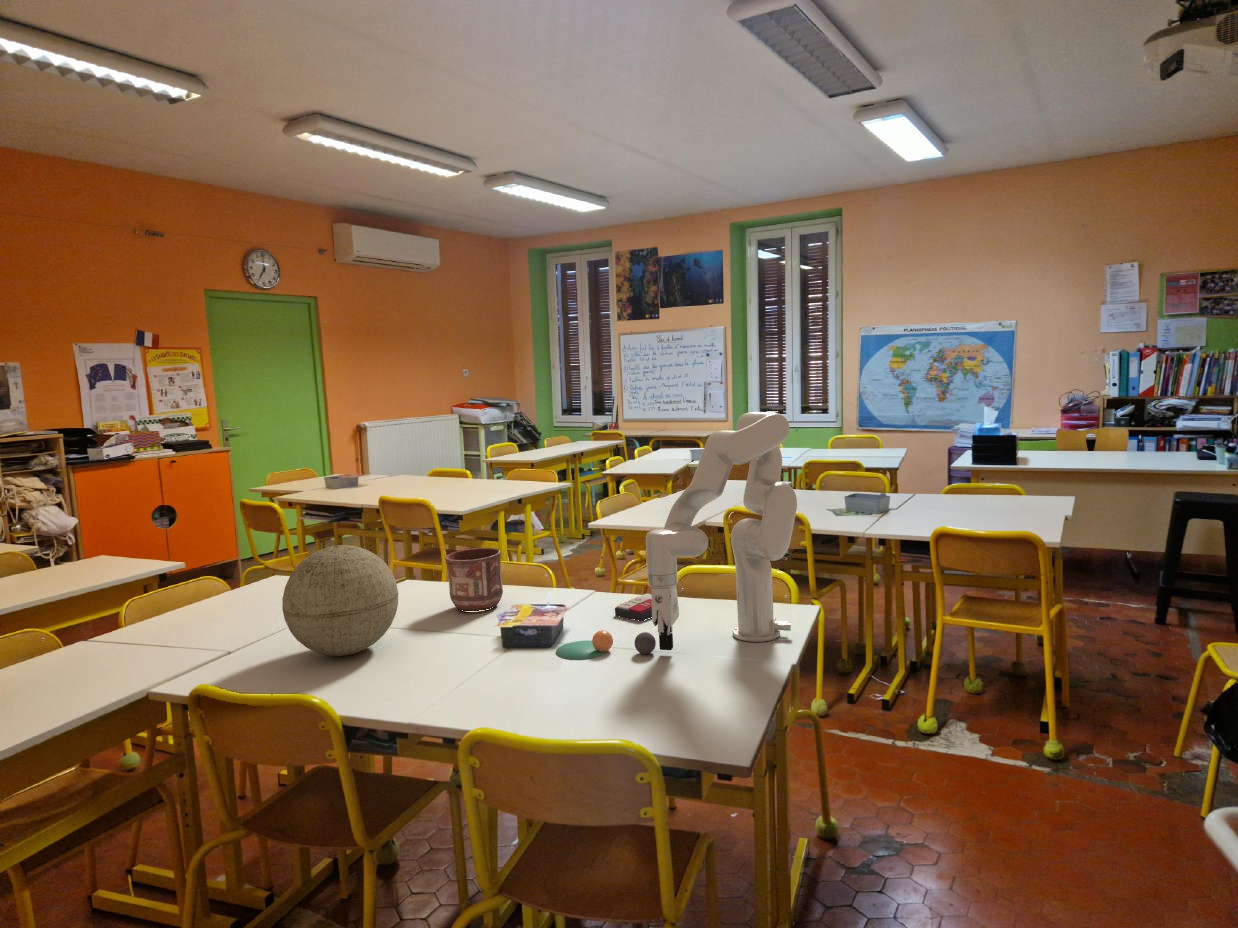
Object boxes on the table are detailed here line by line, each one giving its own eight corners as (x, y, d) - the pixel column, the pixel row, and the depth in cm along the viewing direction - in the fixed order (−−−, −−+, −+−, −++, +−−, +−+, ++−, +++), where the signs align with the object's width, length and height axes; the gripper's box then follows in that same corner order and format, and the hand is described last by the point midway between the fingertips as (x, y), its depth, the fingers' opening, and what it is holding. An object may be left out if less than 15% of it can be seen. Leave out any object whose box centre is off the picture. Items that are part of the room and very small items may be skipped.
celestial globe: (269, 657, 208) (257, 551, 205) (369, 628, 230) (360, 531, 227) (319, 682, 188) (307, 564, 185) (423, 647, 210) (414, 541, 206)
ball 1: (606, 623, 200) (592, 634, 201) (600, 630, 194) (585, 641, 196) (619, 640, 199) (604, 651, 201) (613, 647, 194) (598, 658, 196)
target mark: (615, 642, 204) (615, 641, 204) (598, 661, 191) (598, 660, 191) (567, 640, 208) (567, 639, 208) (547, 658, 195) (547, 657, 195)
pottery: (453, 602, 254) (448, 550, 252) (505, 597, 255) (501, 545, 253) (447, 618, 236) (442, 562, 234) (503, 613, 238) (499, 557, 236)
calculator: (613, 605, 228) (646, 591, 238) (615, 619, 228) (647, 604, 239) (640, 611, 220) (673, 596, 231) (642, 625, 221) (674, 609, 231)
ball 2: (640, 626, 197) (635, 645, 198) (634, 633, 192) (629, 653, 193) (660, 632, 196) (655, 652, 196) (654, 639, 190) (650, 659, 191)
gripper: (670, 587, 182) (674, 660, 184) (683, 571, 197) (687, 639, 198) (640, 586, 185) (644, 658, 187) (655, 571, 199) (659, 638, 201)
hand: (666, 648), depth 193 cm, fingers closed
